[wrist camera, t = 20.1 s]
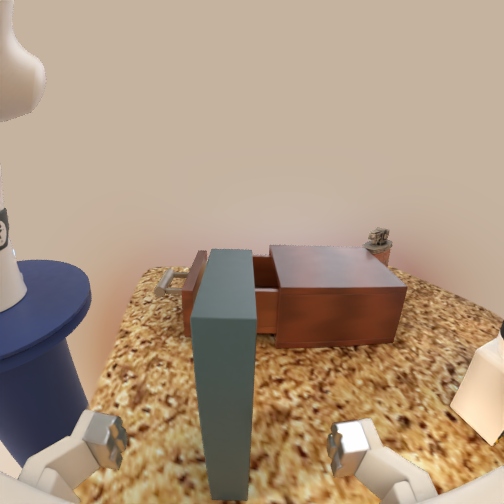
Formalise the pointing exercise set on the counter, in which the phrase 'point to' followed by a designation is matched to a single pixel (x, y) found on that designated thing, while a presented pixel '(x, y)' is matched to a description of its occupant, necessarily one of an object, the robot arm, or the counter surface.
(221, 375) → the dark teal rectangular block
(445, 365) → the counter surface
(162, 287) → the drawer
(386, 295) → the cabinet
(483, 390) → the medicine bottle
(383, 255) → the lighter
